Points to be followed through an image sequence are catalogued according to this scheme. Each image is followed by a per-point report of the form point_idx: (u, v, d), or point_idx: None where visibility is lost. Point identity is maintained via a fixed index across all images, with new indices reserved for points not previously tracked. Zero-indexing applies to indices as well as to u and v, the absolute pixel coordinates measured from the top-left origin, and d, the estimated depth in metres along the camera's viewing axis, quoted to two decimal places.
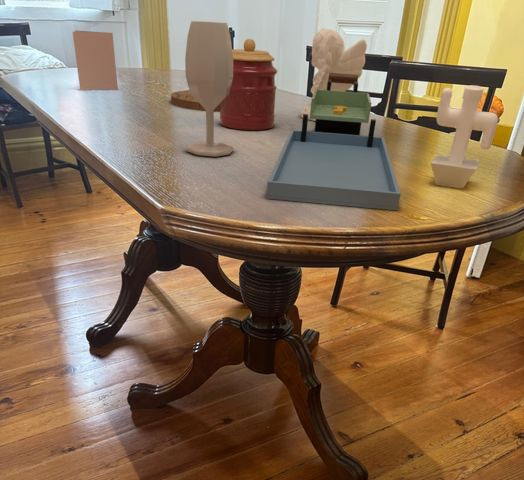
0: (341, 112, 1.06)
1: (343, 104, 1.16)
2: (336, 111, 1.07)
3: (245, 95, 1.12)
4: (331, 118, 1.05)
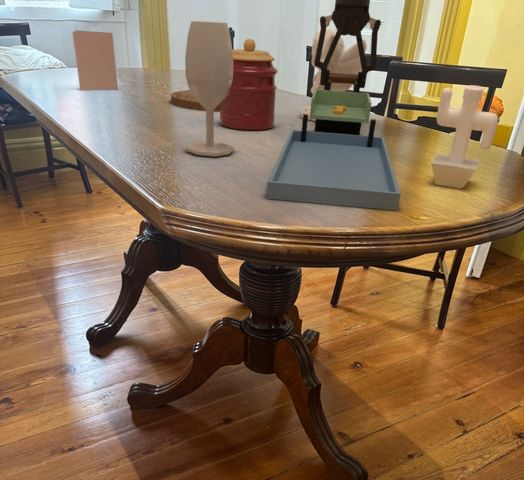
0: (341, 112, 1.06)
1: (343, 104, 1.16)
2: (336, 111, 1.07)
3: (246, 95, 1.12)
4: (331, 118, 1.05)
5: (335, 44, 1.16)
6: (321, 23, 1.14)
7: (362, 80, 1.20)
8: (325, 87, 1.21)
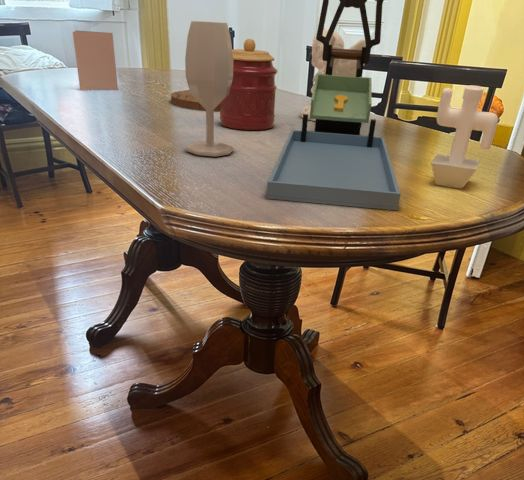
0: (341, 109, 1.06)
1: (345, 89, 1.13)
2: (336, 108, 1.06)
3: (246, 95, 1.12)
4: (331, 118, 1.05)
5: (338, 17, 1.12)
6: None
7: (366, 55, 1.15)
8: (327, 63, 1.16)
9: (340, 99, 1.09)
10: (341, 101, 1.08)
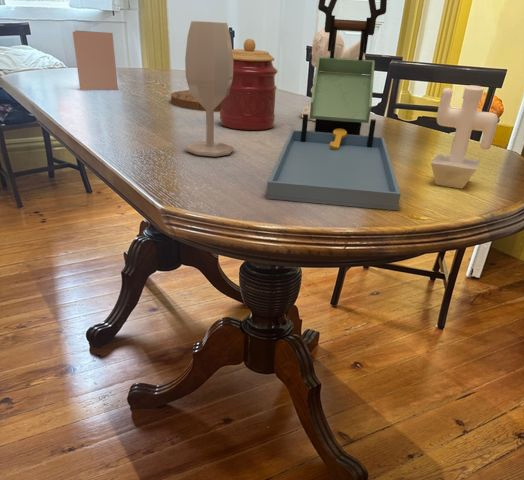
0: (337, 148, 1.02)
1: (347, 71, 1.10)
2: (332, 146, 1.02)
3: (246, 95, 1.12)
4: (331, 119, 1.05)
5: None
6: None
7: (371, 26, 1.09)
8: (330, 34, 1.10)
9: (338, 134, 1.05)
10: (338, 137, 1.04)
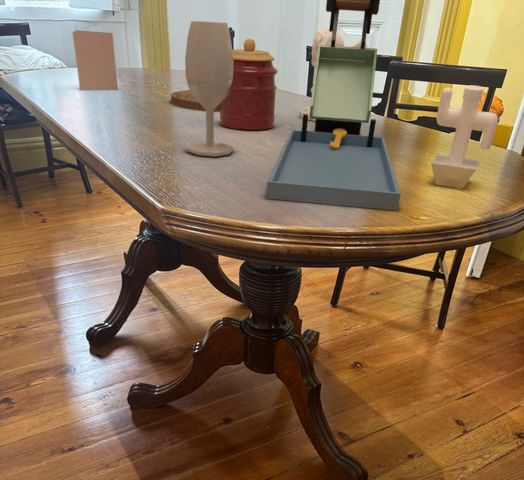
0: (337, 148, 1.02)
1: (349, 58, 1.07)
2: (332, 146, 1.02)
3: (246, 95, 1.12)
4: (331, 119, 1.05)
5: None
6: None
7: (375, 5, 1.03)
8: (332, 14, 1.04)
9: (338, 134, 1.05)
10: (338, 137, 1.04)
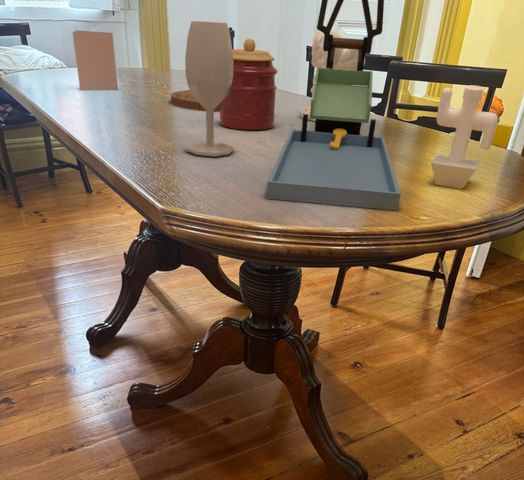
0: (337, 148, 1.02)
1: (346, 82, 1.12)
2: (332, 146, 1.02)
3: (246, 95, 1.12)
4: (331, 118, 1.05)
5: (339, 6, 1.09)
6: None
7: (368, 45, 1.13)
8: (328, 53, 1.14)
9: (338, 134, 1.05)
10: (338, 137, 1.04)
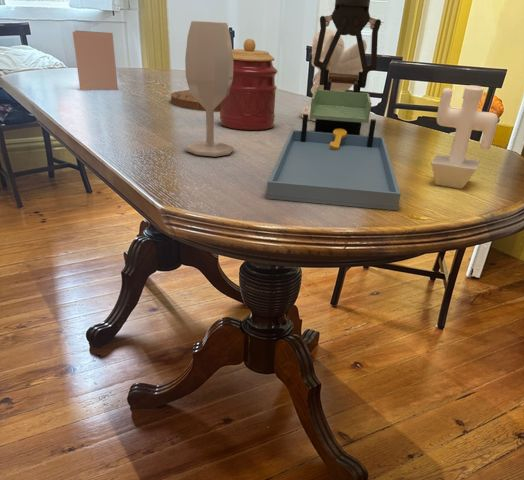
0: (337, 148, 1.02)
1: (343, 104, 1.16)
2: (332, 146, 1.02)
3: (246, 95, 1.12)
4: (331, 118, 1.05)
5: (335, 44, 1.16)
6: (321, 23, 1.14)
7: (363, 80, 1.20)
8: (324, 87, 1.21)
9: (338, 134, 1.05)
10: (338, 137, 1.04)
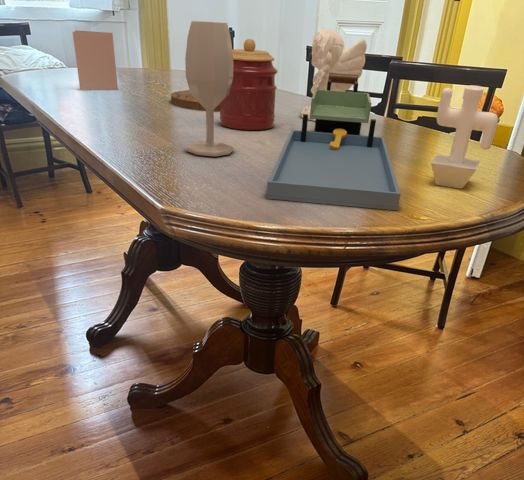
0: (337, 148, 1.02)
1: (343, 104, 1.16)
2: (332, 146, 1.02)
3: (246, 95, 1.12)
4: (331, 118, 1.05)
5: None
6: None
7: None
8: None
9: (338, 134, 1.05)
10: (338, 137, 1.04)
